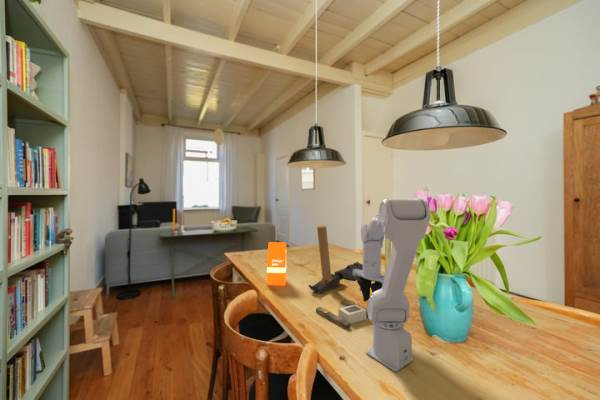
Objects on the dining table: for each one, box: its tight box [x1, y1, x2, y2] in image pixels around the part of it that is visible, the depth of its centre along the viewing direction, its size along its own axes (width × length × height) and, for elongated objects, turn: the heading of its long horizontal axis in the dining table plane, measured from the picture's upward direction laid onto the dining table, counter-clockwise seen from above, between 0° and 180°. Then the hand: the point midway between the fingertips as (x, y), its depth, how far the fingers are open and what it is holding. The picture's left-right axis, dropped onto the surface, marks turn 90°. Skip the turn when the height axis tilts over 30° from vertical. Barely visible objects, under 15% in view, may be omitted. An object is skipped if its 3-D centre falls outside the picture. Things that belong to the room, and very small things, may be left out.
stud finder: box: [337, 303, 367, 325], centre depth 91 cm, size 6×8×4 cm
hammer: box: [307, 225, 344, 294], centre depth 119 cm, size 20×5×30 cm, turn 137°
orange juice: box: [266, 241, 287, 286], centre depth 127 cm, size 8×9×20 cm
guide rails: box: [315, 298, 369, 330], centre depth 94 cm, size 15×15×2 cm
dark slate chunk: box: [333, 261, 363, 282], centre depth 143 cm, size 15×22×5 cm
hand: (371, 302), depth 85 cm, fingers open, 3 cm apart
